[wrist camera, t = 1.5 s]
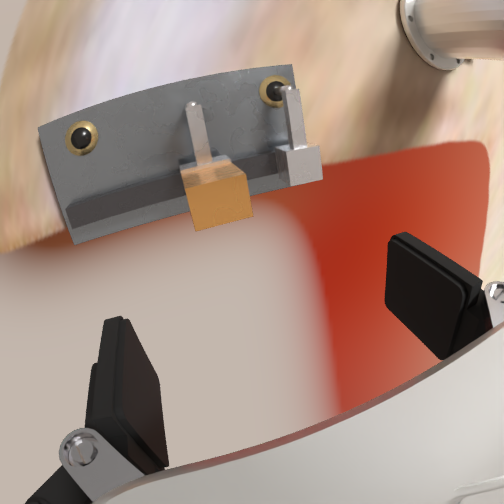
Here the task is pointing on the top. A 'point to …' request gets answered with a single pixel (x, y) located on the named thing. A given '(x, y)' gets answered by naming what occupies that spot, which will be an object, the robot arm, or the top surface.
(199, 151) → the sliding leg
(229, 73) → the base
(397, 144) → the top surface
